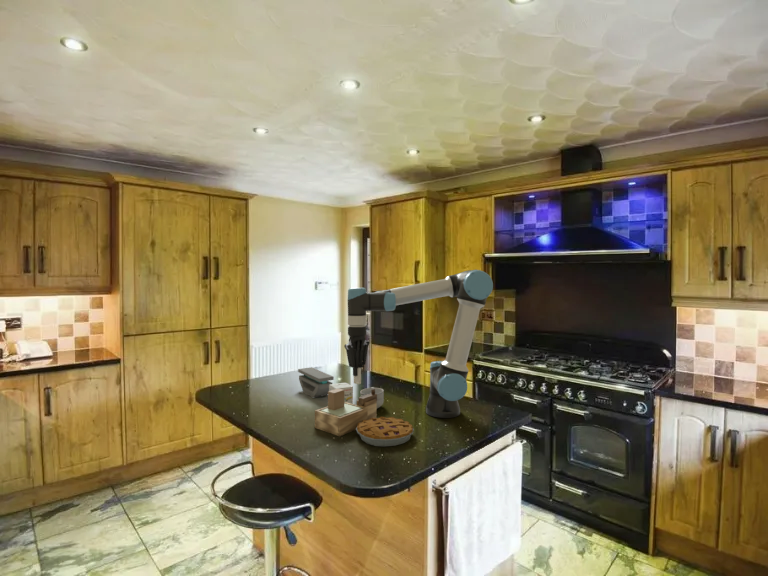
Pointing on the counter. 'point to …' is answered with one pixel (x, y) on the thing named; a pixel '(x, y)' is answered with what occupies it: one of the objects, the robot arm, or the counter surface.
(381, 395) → the teacup
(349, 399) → the ink box
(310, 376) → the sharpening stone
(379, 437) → the pie
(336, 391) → the lid
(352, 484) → the counter surface
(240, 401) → the counter surface
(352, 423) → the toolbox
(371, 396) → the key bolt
